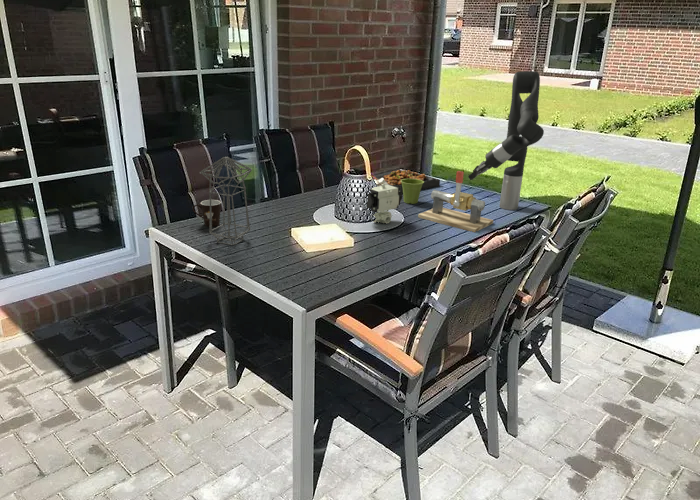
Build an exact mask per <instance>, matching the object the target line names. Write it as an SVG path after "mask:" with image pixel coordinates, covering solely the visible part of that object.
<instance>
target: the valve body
mask: <svg viewBox="0 0 700 500" xmlns="http://www.w3.org/2000/svg"><path fill="white" fill-rule="evenodd" d="M430 198H431V199H432V200H433V202H432V209H433V210H432V213H435V214H439V213H442V211H443V208H444V203H449V204H450V205H451V206H452V207H453V209H456V210H462V211H465V212H466V211H468V210H470V213H469V214H470V223H474V224H476V223H478V222H480V217H482V212H483V211H484V210H485V207H486V201H485V200H481V199H477V198H476V197H475V196H474V194H472V193H466V192H462V191H461V193H460V206H459V207H454V205H453V202H454V201H455V192H453V193H451V192H450V193H449V192H445V191H441V190H437V189H433V190H432V191H431V193H430Z"/></svg>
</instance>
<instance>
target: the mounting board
mask: <svg viewBox="0 0 700 500" xmlns="http://www.w3.org/2000/svg"><path fill="white" fill-rule="evenodd" d="M432 210H433V208H431V209H429V210H426V211H425V210H424V211H423V212H421V213H418V215H417V216H418V217H417V218H418V219H423V220H427V221H430V222H434V223H438V224H441V225H445V226H447V227H448V226H449V227H453V228H456V229H461V230H464V231H468V232H471V231H472V232H471V233H477V232H479V231H481V230H483V229H485V228H487V227H489V226H490V225H492V224H494V219H490V218H486V217H483V216H481V217H480V222H478V223H476V224H474V223H470V214H471V213H465V212H462V211H458V210H453V209H450V208H445V207H443V211H442V213H439V214H435V213H432ZM476 231H477V232H476Z"/></svg>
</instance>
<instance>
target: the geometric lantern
mask: <svg viewBox="0 0 700 500" xmlns="http://www.w3.org/2000/svg"><path fill="white" fill-rule="evenodd" d="M240 166H242V167H240ZM223 167H225V168H226V172H227V173H226V174H227V176H220V174H221V171H222V169H223ZM243 170H245V171H244V172H242V171H243ZM237 171H238V173H240V174H238V173H237ZM252 171H253V169H252V168H251V167H249V166H247V165H245V164H243V163H241V162H239V161H237V160H235V159H233V158H230V157H229V156H223V157H222V158H221V157H220V159H218V160H216V161H215V162H213V163H212V164H211V165H209V166H207V167H205V168H204V169H202V170H201V171H199V174H200V175H202V176H204V178H205V179H207V180H208V181H209V200H210V227H209V229H208V231H209V233H210V235H212V236H214V237H215V238H216V243H218V244H223V245H228V246H236V245H237V244H239V243H240V242H243V241H244V235H245V234H247V233H248V232H250V231H251V226H250V218H249V209H248V203H247V202H248V201H247V193H246V192H247V191H246V189H247V187H246V185H245V180H246V178H247V177H248V176H249V174H250V173H251V172H252ZM208 172H209V173H208ZM211 172H212V173H211ZM230 173H231V177H230ZM213 178H215V180H216V181H215V182H214V181H213V180H212V179H213ZM236 178H237V179H236ZM218 179H219V180H220V181H219V182H218ZM240 179H241V180H240ZM227 180H229V181H228V183H227V184H226V183H225V182H226V181H227ZM232 180H234V181H235V182H236V183H237V184H236V185H230V183H232V182H231V181H232ZM241 183H242V186H239V184H241ZM215 185H218V186H216V187H215ZM225 187H227V192H226V191H225ZM230 187H233V188H234V190H233V192H232V193H231V194H230ZM218 188H220V189H221V190H222V193H218V192H214V191H213V190H215V189H218ZM238 188H239V189H243V190H240V191H238V192H236V189H238ZM242 192H243V194H244V195H243V196H244V204H245V216H246V225H241V224H236V217H235V216H236V215H235V205H234V198H233V197H234V196H235V195H237V194H239V193H242ZM212 194H215V195H219V196H222V202H223V203H222V205H223V206H222V207H223V208H222V210H223V213H222V215H223V216H222V220H223V221H222V222H223V223H222V224H219V225H218V226H215V228H213V227H212V212H211V200H212ZM225 197H226V199H225ZM230 197H231V201H230ZM225 200H226V201H225ZM225 202H226V205H225ZM225 206H226V208H225ZM231 206H232V214H233V223H232V218H231V217H232V215H231ZM225 209H227V223H226V222H225V219H226V217H225V216H226V215H225V213H226V212H225ZM225 225H227V226H228V229H226V227H225ZM230 226H234V231H231V227H230ZM221 227H223V228H224V232H222V233H221V234H219V233H214V232H213V231H215V230H217V229H219V228H221ZM237 227H240V228H241V227H242V228H245V229H244V231H243V232H237ZM231 234H234V235H235V236H233V235H231ZM232 239H233V240H232ZM238 239H241V240H238ZM222 240H223V241H229V242H231V243H228V242H227V243H226V242H220V241H222ZM236 240H238V241H237V242H236ZM233 242H234V243H233Z"/></svg>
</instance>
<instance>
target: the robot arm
mask: <svg viewBox="0 0 700 500" xmlns="http://www.w3.org/2000/svg"><path fill="white" fill-rule="evenodd" d="M540 83H541V77H540V73H539V72H538V71H536V70H535V71H533V70H531V71H530V70H529V71H528V70H527V71H525V70H523V71H516V72H515V73H514V74H513V78H512V87H511V101H510V103H511V104H510V107H509V108H510V109H509V114H508V115H509V116H508V121H507V131H506V132H507V133H506V138H505V139H504V140H503V141H502V142H500V143H499V144H497V145H496V146H495V147H493V148H492V149H491V150H490V151H488V152H487V153H486V154H485V160H483V161H481V162H480V164H479V165H476V166H475V167H474V168H473V170H472V172H471V173H470V174H468V177H467V178H468V179H469V180H470V181H472V180H474V179H475V178H476V177H478V176H480V175H481V174H484V173H485V172H487V171H489V170H491V169H498V168H500V166H502V165H503V164H504V163H506V162H508V161H509V162H517V163H516V164H514V165H511V166H507V167H506V168H504V171H503V178H502V185H501V193H500V200H499V208H500V209H503V210H508V211H513V210H514V211H515V210H518V209H519V204H520V203H519V202H520V196H521V190H522V182H523V177H524V167H525V163H526V158H527V152H528V147H529V146H532V145H534V144H536V143H538V142H540V140H541V139H542V138H543V136H544V134H545V133H544V128H543V127H542V126H541V125H539V124H538V121H539V118H540V117H539V97H540V88H541V87H540V86H541V85H540ZM520 94H522V95H523V94H524V95H525V94H529V95H528V96H527V97H526V98H525V99H524V100H523V99H522V98H521V95H520Z"/></svg>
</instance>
